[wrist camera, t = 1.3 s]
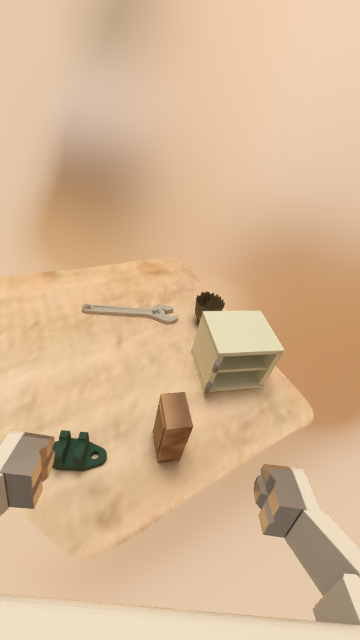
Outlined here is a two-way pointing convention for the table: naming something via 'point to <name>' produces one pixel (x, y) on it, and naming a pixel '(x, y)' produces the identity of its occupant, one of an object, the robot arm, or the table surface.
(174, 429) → the brown wooden tall block
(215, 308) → the brown hollow round piece
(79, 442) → the mount
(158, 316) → the adjustable wrench
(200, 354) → the cabinet
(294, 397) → the table surface
